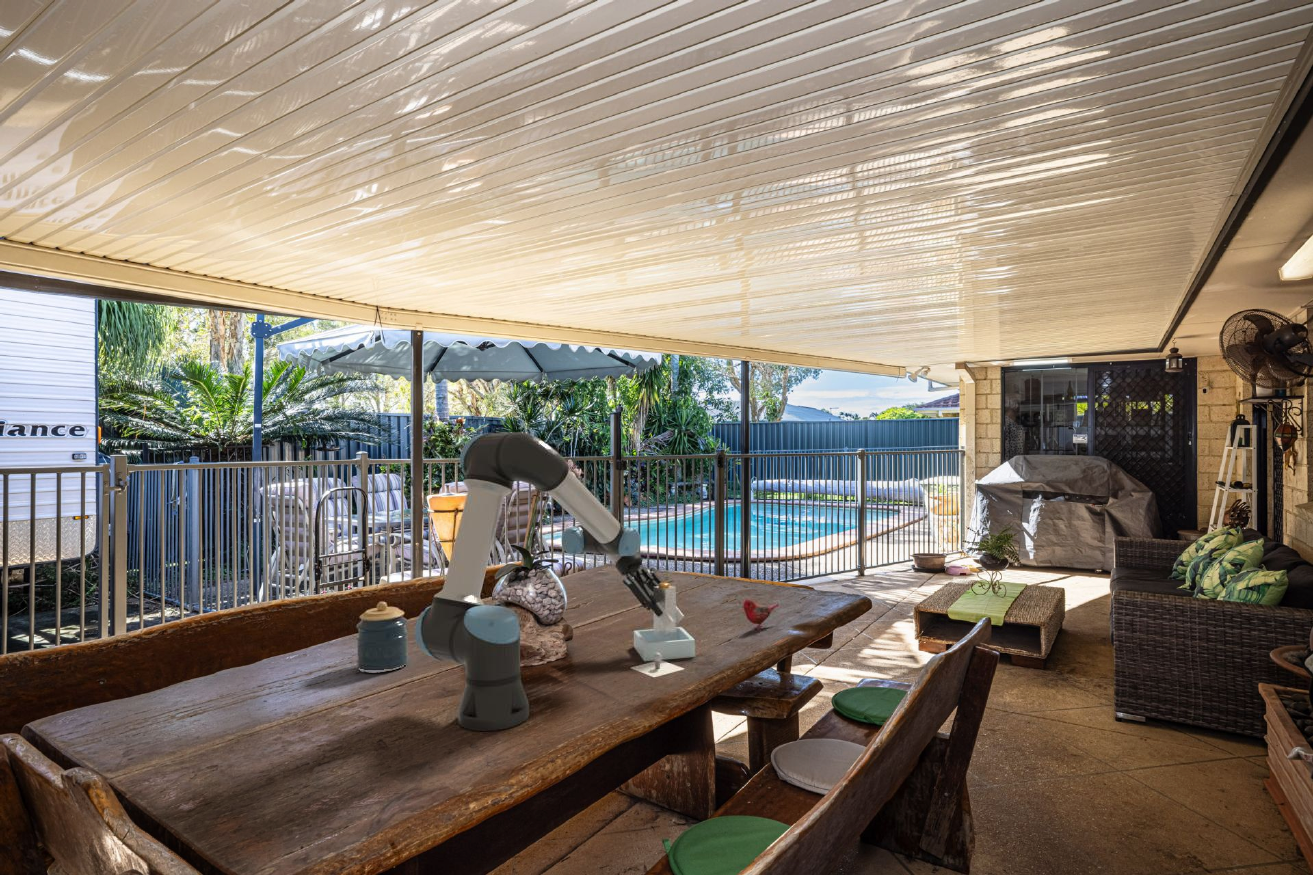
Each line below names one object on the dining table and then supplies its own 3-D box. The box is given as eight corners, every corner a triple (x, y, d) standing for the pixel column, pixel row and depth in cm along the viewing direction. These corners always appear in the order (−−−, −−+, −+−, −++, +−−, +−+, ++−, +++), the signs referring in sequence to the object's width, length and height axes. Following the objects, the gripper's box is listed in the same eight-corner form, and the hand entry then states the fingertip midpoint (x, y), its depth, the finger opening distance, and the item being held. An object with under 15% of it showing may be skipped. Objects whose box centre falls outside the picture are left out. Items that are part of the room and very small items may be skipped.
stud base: (654, 683, 179) (653, 660, 179) (630, 673, 187) (629, 652, 187) (685, 674, 185) (684, 653, 185) (660, 665, 193) (660, 644, 193)
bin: (644, 666, 192) (643, 643, 192) (634, 651, 206) (633, 630, 206) (695, 662, 196) (694, 639, 196) (681, 647, 209) (681, 627, 209)
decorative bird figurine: (739, 632, 225) (739, 599, 225) (775, 621, 237) (775, 591, 237) (746, 633, 223) (746, 601, 223) (782, 623, 235) (782, 592, 235)
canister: (364, 677, 188) (363, 609, 188) (351, 665, 198) (350, 601, 198) (414, 667, 195) (413, 602, 195) (400, 656, 206) (399, 594, 206)
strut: (665, 636, 198) (665, 586, 198) (653, 633, 201) (653, 584, 201) (675, 633, 201) (675, 583, 201) (663, 630, 204) (663, 581, 204)
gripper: (634, 561, 217) (683, 622, 208) (598, 571, 202) (649, 638, 193) (649, 544, 214) (699, 606, 205) (613, 553, 199) (666, 620, 190)
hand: (675, 621), depth 199 cm, fingers closed on strut, 5 cm apart
